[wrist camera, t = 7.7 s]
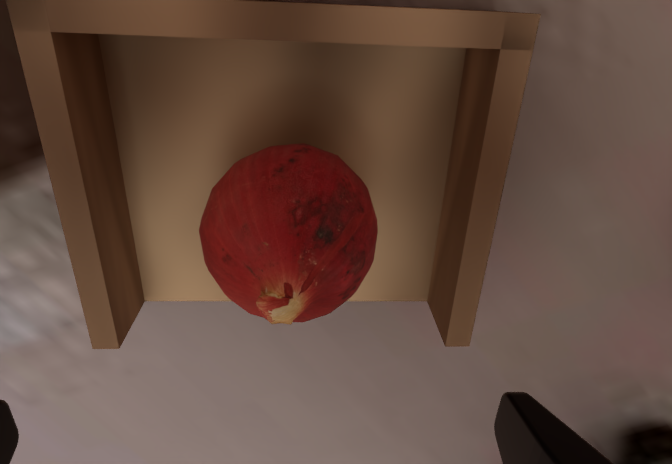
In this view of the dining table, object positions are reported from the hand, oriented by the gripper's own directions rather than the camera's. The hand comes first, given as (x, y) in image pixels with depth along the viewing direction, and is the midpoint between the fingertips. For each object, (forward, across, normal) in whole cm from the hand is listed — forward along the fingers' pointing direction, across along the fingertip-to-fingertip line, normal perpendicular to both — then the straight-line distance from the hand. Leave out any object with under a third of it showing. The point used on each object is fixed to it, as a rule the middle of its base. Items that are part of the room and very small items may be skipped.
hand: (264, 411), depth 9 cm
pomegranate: (+12, 0, 0) cm, 12 cm away
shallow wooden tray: (+12, 0, 0) cm, 12 cm away
